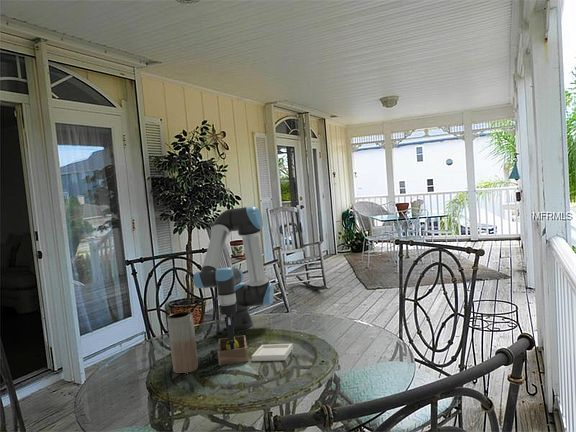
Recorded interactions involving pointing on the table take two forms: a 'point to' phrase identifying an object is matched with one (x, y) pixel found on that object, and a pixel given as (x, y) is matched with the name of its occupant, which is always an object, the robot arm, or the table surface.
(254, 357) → the plate
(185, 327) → the planter
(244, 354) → the open wooden box frame
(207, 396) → the table surface
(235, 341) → the fruit
